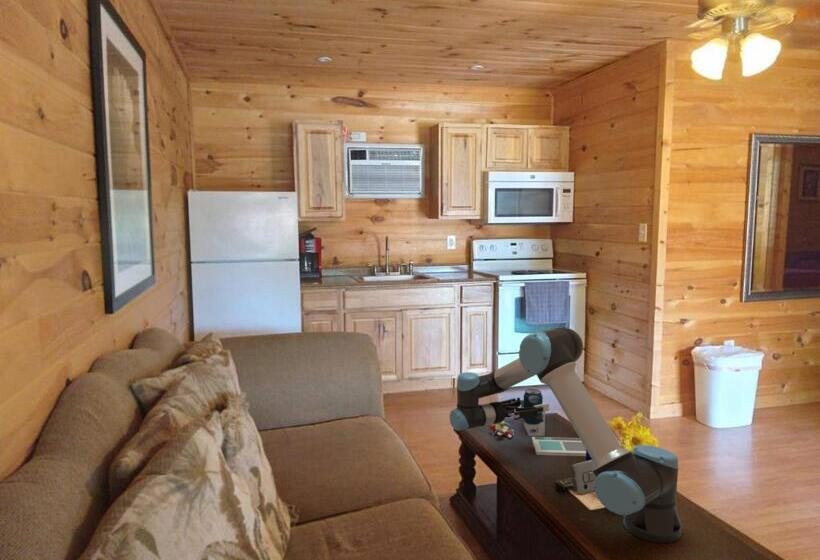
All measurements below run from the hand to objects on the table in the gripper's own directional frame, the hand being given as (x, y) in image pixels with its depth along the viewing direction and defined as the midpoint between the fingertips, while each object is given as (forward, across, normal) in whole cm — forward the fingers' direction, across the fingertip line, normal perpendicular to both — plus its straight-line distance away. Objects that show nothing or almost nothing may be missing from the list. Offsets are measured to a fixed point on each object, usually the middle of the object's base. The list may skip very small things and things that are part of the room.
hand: (541, 403), depth 213 cm
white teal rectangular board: (+7, +3, -18) cm, 19 cm away
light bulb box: (+9, -15, -18) cm, 25 cm away
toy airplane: (-6, -16, -18) cm, 25 cm away
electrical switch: (-8, +31, -18) cm, 37 cm away
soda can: (-4, 0, -7) cm, 8 cm away
